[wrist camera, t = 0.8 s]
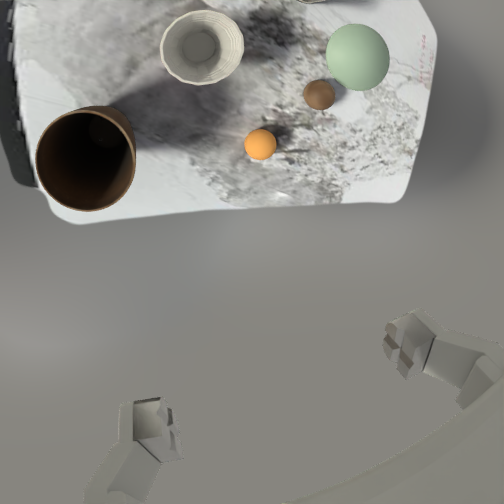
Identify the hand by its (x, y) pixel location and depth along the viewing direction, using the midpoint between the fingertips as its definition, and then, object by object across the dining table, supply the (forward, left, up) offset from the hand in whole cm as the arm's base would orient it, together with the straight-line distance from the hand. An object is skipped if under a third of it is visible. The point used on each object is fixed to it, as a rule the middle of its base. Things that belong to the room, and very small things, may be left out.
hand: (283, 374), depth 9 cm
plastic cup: (-6, -7, -48) cm, 49 cm away
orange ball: (-1, +13, -45) cm, 47 cm away
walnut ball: (-15, +13, -45) cm, 49 cm away
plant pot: (+15, -9, -48) cm, 51 cm away
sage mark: (-27, +13, -48) cm, 56 cm away
